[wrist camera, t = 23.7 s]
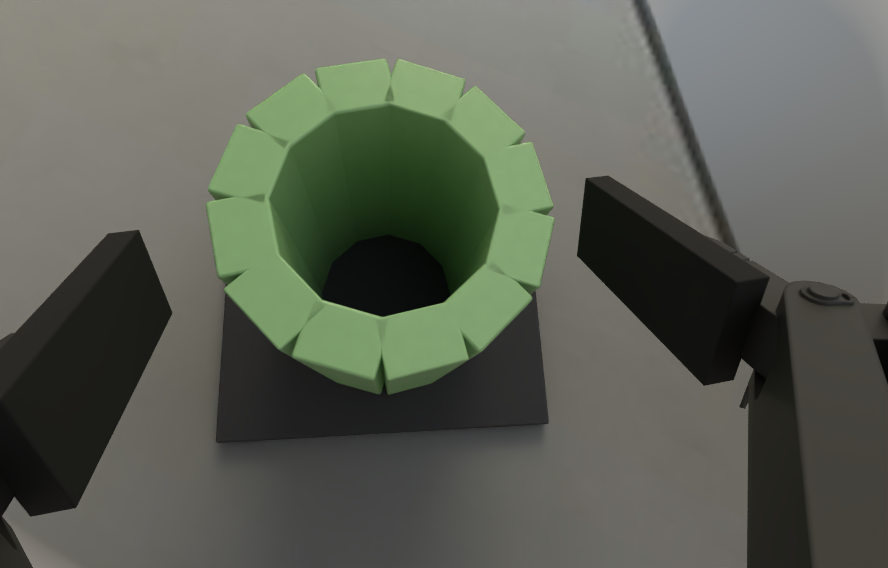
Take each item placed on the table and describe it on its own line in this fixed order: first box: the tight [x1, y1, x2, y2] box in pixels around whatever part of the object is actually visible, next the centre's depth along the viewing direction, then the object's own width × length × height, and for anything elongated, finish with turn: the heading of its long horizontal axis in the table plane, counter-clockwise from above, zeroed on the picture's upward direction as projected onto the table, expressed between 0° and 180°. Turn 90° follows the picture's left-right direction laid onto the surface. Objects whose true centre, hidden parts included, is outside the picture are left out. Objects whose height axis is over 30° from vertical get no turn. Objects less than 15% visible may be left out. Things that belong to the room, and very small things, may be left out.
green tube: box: [206, 59, 554, 395], centre depth 17 cm, size 9×9×10 cm
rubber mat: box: [216, 235, 549, 443], centre depth 22 cm, size 14×12×1 cm
